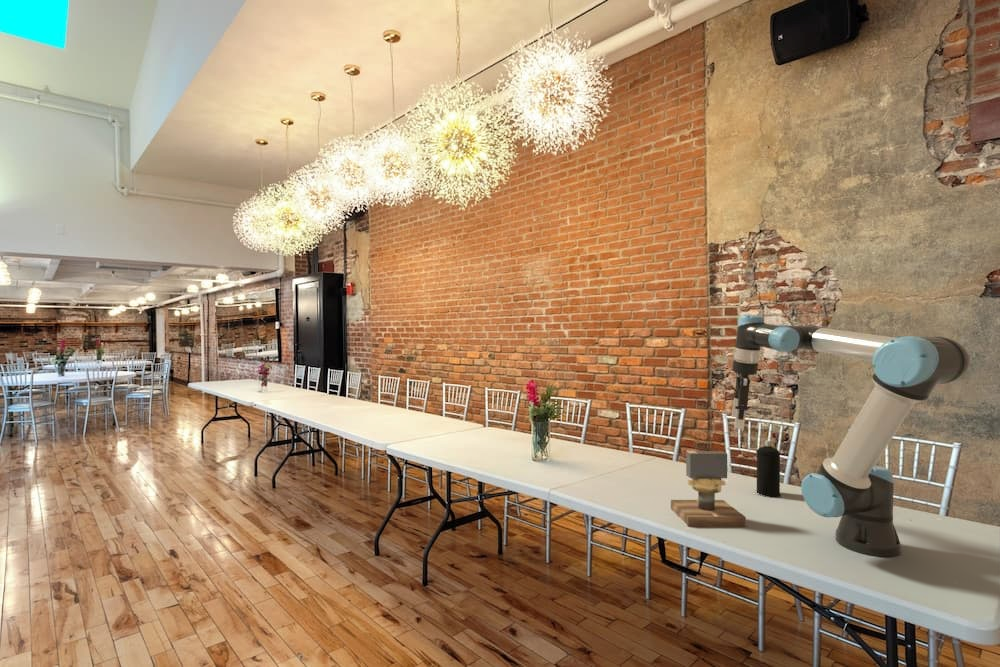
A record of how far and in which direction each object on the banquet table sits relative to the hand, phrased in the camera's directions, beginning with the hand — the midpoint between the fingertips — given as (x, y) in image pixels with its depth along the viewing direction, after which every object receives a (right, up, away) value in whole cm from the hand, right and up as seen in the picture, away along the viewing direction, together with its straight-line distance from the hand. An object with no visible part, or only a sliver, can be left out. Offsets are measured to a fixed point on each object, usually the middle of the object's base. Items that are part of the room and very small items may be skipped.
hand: (737, 422), depth 172 cm
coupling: (-12, -21, -5) cm, 25 cm away
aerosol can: (+21, -30, +19) cm, 42 cm away
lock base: (-12, -30, -5) cm, 33 cm away
